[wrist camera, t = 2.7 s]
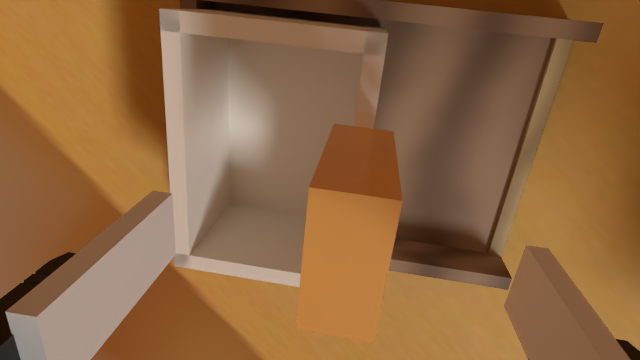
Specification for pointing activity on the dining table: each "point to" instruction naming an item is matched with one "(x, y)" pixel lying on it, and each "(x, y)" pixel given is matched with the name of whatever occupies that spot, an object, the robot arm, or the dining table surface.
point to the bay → (454, 119)
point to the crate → (282, 159)
